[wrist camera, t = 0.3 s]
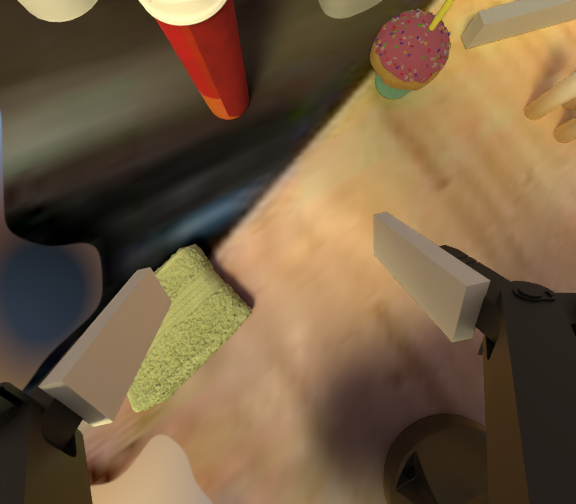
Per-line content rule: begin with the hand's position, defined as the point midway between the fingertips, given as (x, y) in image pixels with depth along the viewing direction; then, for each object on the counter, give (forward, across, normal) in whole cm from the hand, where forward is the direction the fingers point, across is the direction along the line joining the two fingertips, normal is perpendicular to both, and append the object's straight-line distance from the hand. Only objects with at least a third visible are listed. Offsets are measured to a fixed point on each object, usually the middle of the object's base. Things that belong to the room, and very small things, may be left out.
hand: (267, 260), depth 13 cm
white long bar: (+26, -39, -11) cm, 49 cm away
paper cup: (+26, +2, -10) cm, 28 cm away
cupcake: (+24, -20, -8) cm, 33 cm away
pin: (+20, -37, -1) cm, 42 cm away
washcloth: (+11, +15, +12) cm, 22 cm away
